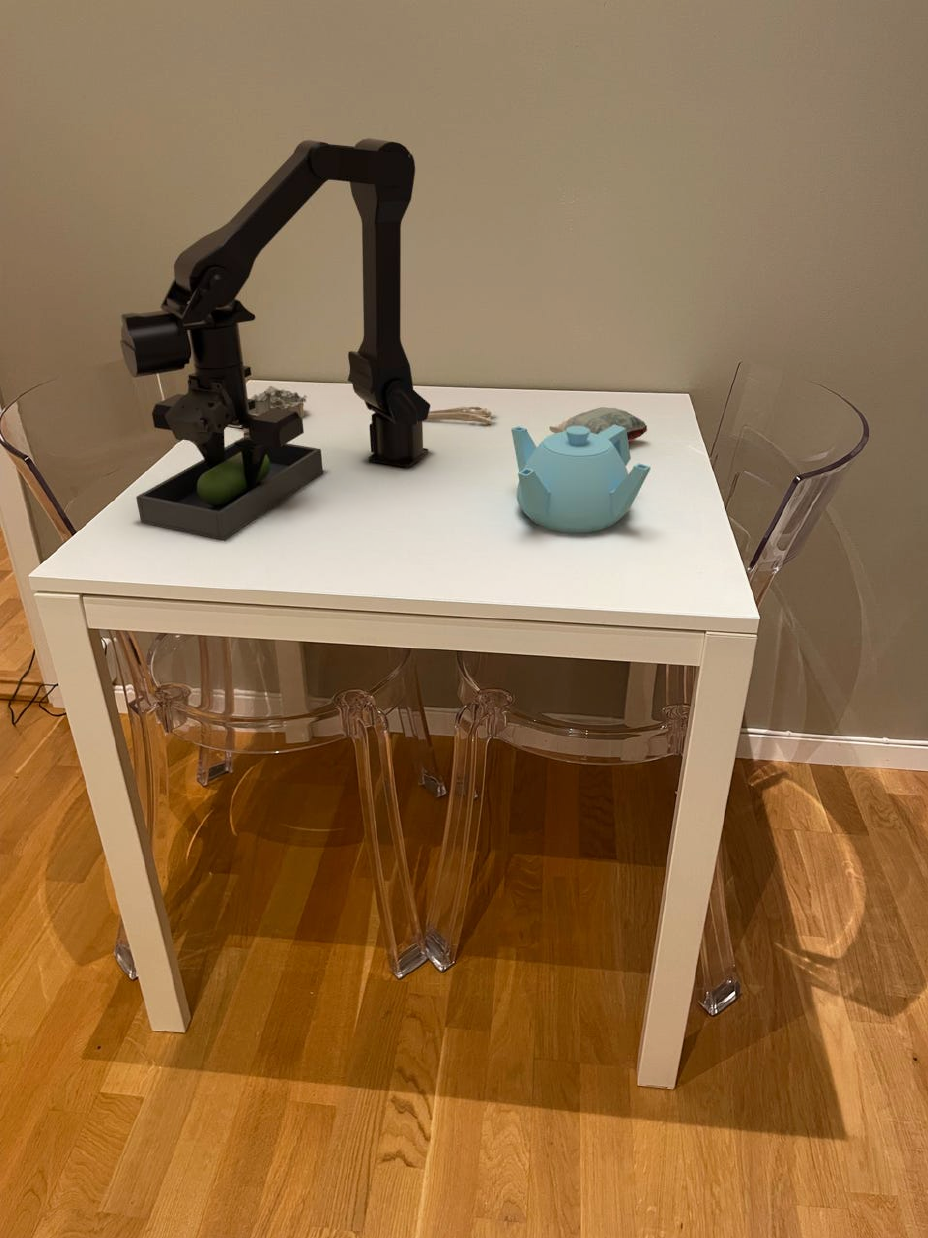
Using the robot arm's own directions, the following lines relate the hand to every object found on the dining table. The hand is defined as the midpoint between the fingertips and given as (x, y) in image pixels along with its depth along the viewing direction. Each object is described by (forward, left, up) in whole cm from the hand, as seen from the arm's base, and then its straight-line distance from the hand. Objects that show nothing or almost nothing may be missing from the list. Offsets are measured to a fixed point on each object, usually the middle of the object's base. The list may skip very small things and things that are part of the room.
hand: (236, 484), depth 120 cm
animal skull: (-11, -36, -2) cm, 38 cm away
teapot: (-41, -12, -2) cm, 43 cm away
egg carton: (+12, -26, -2) cm, 29 cm away
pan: (0, 0, -2) cm, 2 cm away
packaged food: (-37, -36, -2) cm, 52 cm away
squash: (0, 0, -1) cm, 1 cm away
